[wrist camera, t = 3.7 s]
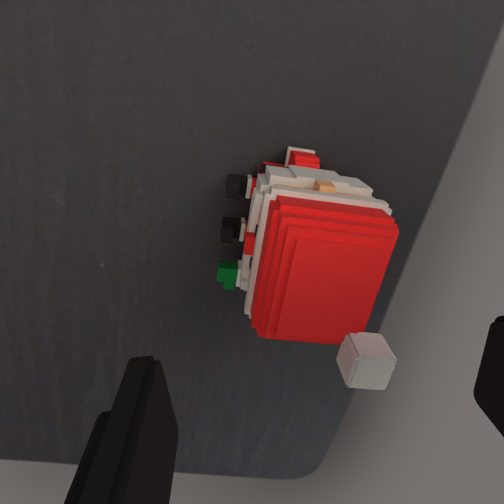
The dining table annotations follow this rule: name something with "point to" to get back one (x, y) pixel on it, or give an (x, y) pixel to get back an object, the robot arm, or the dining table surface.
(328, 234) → the figurine
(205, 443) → the dining table surface
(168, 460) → the robot arm
